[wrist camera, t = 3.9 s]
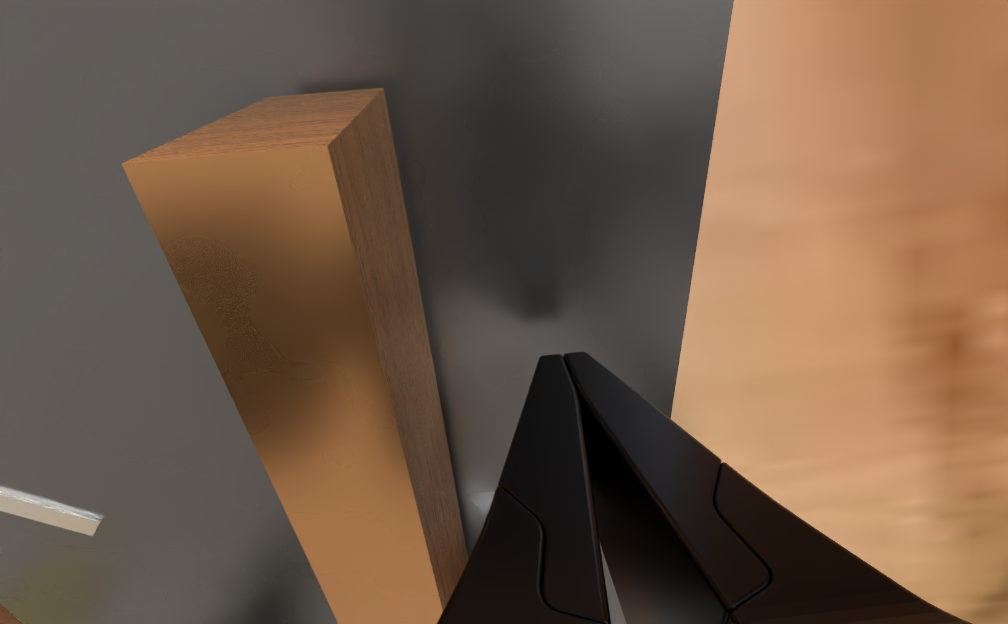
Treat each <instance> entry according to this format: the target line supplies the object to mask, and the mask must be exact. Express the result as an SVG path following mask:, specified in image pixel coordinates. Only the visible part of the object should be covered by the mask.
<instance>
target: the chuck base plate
mask: <svg viewBox="0 0 1008 624" xmlns="http://www.w3.org/2000/svg"><path fill="white" fill-rule="evenodd" d="M733 1H734V0H0V604H1V605H2V606H3V607H4V608H5V609H6V610H8V611H9V612H10V613H11V614H12V615H13V616H14V617H15V618H17V619H18V620H19V621H20V622H21V623H22V624H338V622H337V620H336V618H335V616H334V614H333V611H332V609H331V607H330V605H329V603H328V601H327V599H326V597H325V594H324V592H323V590H322V588H321V586H320V584H319V582H318V580H317V577H316V575H315V573H314V571H313V569H312V567H311V565H310V563H309V560H308V558H307V556H306V554H305V552H304V550H303V548H302V546H301V544H300V541H299V539H298V537H297V535H296V533H295V531H294V529H293V527H292V524H291V522H290V520H289V518H288V516H287V514H286V512H285V510H284V507H283V505H282V503H281V501H280V499H279V497H278V495H277V493H276V490H275V488H274V486H273V484H272V482H271V480H270V478H269V476H268V474H267V471H266V469H265V467H264V465H263V463H262V461H261V459H260V457H259V454H258V452H257V450H256V448H255V446H254V444H253V442H252V440H251V437H250V435H249V433H248V431H247V429H246V427H245V425H244V423H243V420H242V418H241V416H240V414H239V412H238V410H237V408H236V406H235V404H234V401H233V399H232V397H231V395H230V393H229V391H228V389H227V387H226V384H225V382H224V380H223V378H222V376H221V374H220V372H219V370H218V367H217V365H216V363H215V361H214V359H213V357H212V355H211V353H210V350H209V348H208V346H207V344H206V342H205V340H204V338H203V336H202V333H201V331H200V329H199V327H198V325H197V323H196V321H195V319H194V317H193V314H192V312H191V310H190V308H189V306H188V304H187V302H186V300H185V297H184V295H183V293H182V291H181V289H180V287H179V285H178V283H177V280H176V278H175V276H174V274H173V272H172V270H171V268H170V266H169V263H168V261H167V259H166V257H165V255H164V253H163V251H162V249H161V247H160V244H159V242H158V240H157V238H156V236H155V234H154V232H153V230H152V227H151V225H150V223H149V221H148V219H147V217H146V215H145V213H144V210H143V208H142V206H141V204H140V202H139V200H138V198H137V196H136V193H135V191H134V189H133V187H132V185H131V183H130V181H129V179H128V176H127V174H126V172H125V170H124V168H123V166H122V163H124V162H126V161H129V160H131V159H133V158H135V157H137V156H140V155H142V154H144V153H146V152H148V151H151V150H153V149H155V148H157V147H159V146H162V145H164V144H166V143H168V142H170V141H173V140H175V139H177V138H179V137H181V136H184V135H186V134H188V133H190V132H192V131H195V130H197V129H199V128H201V127H204V126H206V125H208V124H210V123H212V122H215V121H217V120H219V119H221V118H223V117H226V116H228V115H230V114H232V113H234V112H237V111H239V110H241V109H243V108H245V107H248V106H250V105H252V104H254V103H256V102H259V101H261V100H263V99H265V98H267V97H275V96H287V95H300V94H312V93H324V92H336V91H348V90H360V89H372V88H384V90H385V96H386V102H387V107H388V113H389V118H390V124H391V129H392V135H393V141H394V146H395V152H396V157H397V163H398V169H399V174H400V180H401V185H402V191H403V197H404V202H405V208H406V213H407V219H408V225H409V230H410V236H411V241H412V247H413V253H414V258H415V264H416V269H417V275H418V281H419V286H420V292H421V297H422V303H423V309H424V314H425V320H426V325H427V331H428V337H429V342H430V348H431V353H432V359H433V365H434V370H435V376H436V381H437V387H438V393H439V398H440V404H441V409H442V415H443V421H444V426H445V432H446V437H447V443H448V449H449V454H450V460H451V465H452V471H453V477H454V482H455V488H456V493H457V499H458V505H459V510H460V516H461V521H462V527H463V533H464V538H465V544H466V549H467V555H468V559H469V557H470V555H471V553H472V550H473V548H474V546H475V544H476V542H477V539H478V537H479V535H480V533H481V530H482V527H483V524H484V522H485V519H486V516H487V514H488V511H489V508H490V506H491V503H492V499H493V496H494V493H495V490H496V488H497V487H498V482H499V479H500V476H501V473H502V470H503V467H504V464H505V461H506V458H507V455H508V452H509V449H510V445H511V442H512V439H513V436H514V433H515V430H516V427H517V424H518V421H519V418H520V415H521V412H522V409H523V406H524V403H525V400H526V397H527V394H528V391H529V387H530V384H531V381H532V378H533V375H534V372H535V369H536V366H537V363H538V360H539V358H540V357H541V356H543V355H553V354H560V355H562V356H563V355H564V354H565V353H573V352H586V353H588V354H589V355H590V356H592V357H593V358H594V359H595V360H597V361H598V362H599V363H600V364H602V365H603V366H604V367H605V368H607V369H608V370H609V371H610V372H612V373H613V374H614V375H615V376H617V377H618V378H619V379H620V380H622V381H623V382H624V383H626V384H627V385H628V386H629V387H631V388H632V389H633V390H634V391H636V392H637V393H638V394H639V395H641V396H642V397H643V398H644V399H646V400H647V401H648V402H649V403H651V404H652V405H653V406H654V407H656V408H657V409H658V410H660V411H661V412H662V413H663V414H665V415H666V416H667V417H668V418H670V417H671V411H672V404H673V398H674V391H675V384H676V378H677V371H678V365H679V358H680V351H681V345H682V338H683V331H684V325H685V318H686V312H687V305H688V298H689V292H690V285H691V279H692V272H693V265H694V259H695V252H696V246H697V239H698V232H699V226H700V219H701V213H702V206H703V199H704V193H705V186H706V180H707V173H708V166H709V160H710V153H711V147H712V140H713V133H714V127H715V120H716V113H717V107H718V100H719V94H720V87H721V80H722V74H723V67H724V61H725V54H726V47H727V41H728V34H729V28H730V21H731V14H732V8H733ZM600 548H601V555H602V562H603V569H604V576H605V583H606V590H607V597H608V604H609V611H610V618H611V624H626V621H625V618H624V615H623V612H622V609H621V606H620V603H619V600H618V596H617V593H616V590H615V587H614V584H613V581H612V578H611V575H610V572H609V569H608V566H607V563H606V560H605V557H604V554H603V550H602V547H601V544H600Z"/></svg>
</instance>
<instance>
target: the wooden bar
mask: <svg viewBox="0 0 1008 624" xmlns="http://www.w3.org/2000/svg"><path fill="white" fill-rule="evenodd" d="M122 166H123V168H124V170H125V172H126V174H127V176H128V179H129V181H130V183H131V185H132V187H133V189H134V191H135V193H136V196H137V198H138V200H139V202H140V204H141V206H142V208H143V210H144V213H145V215H146V217H147V219H148V221H149V223H150V225H151V227H152V230H153V232H154V234H155V236H156V238H157V240H158V242H159V244H160V247H161V249H162V251H163V253H164V255H165V257H166V259H167V261H168V263H169V266H170V268H171V270H172V272H173V274H174V276H175V278H176V280H177V283H178V285H179V287H180V289H181V291H182V293H183V295H184V297H185V300H186V302H187V304H188V306H189V308H190V310H191V312H192V314H193V317H194V319H195V321H196V323H197V325H198V327H199V329H200V331H201V333H202V336H203V338H204V340H205V342H206V344H207V346H208V348H209V350H210V353H211V355H212V357H213V359H214V361H215V363H216V365H217V367H218V370H219V372H220V374H221V376H222V378H223V380H224V382H225V384H226V387H227V389H228V391H229V393H230V395H231V397H232V399H233V401H234V404H235V406H236V408H237V410H238V412H239V414H240V416H241V418H242V420H243V423H244V425H245V427H246V429H247V431H248V433H249V435H250V437H251V440H252V442H253V444H254V446H255V448H256V450H257V452H258V454H259V457H260V459H261V461H262V463H263V465H264V467H265V469H266V471H267V474H268V476H269V478H270V480H271V482H272V484H273V486H274V488H275V490H276V493H277V495H278V497H279V499H280V501H281V503H282V505H283V507H284V510H285V512H286V514H287V516H288V518H289V520H290V522H291V524H292V527H293V529H294V531H295V533H296V535H297V537H298V539H299V541H300V544H301V546H302V548H303V550H304V552H305V554H306V556H307V558H308V560H309V563H310V565H311V567H312V569H313V571H314V573H315V575H316V577H317V580H318V582H319V584H320V586H321V588H322V590H323V592H324V594H325V597H326V599H327V601H328V603H329V605H330V607H331V609H332V611H333V614H334V616H335V618H336V620H337V622H338V624H437V622H438V620H439V618H440V616H441V614H442V612H443V610H444V608H445V606H446V604H447V602H448V600H449V598H450V596H451V594H452V592H453V590H454V588H455V586H456V584H457V582H458V580H459V578H460V576H461V574H462V572H463V570H464V568H465V566H466V564H467V561H468V555H467V549H466V544H465V538H464V533H463V527H462V521H461V516H460V510H459V505H458V499H457V493H456V488H455V482H454V477H453V471H452V465H451V460H450V454H449V449H448V443H447V437H446V432H445V426H444V421H443V415H442V409H441V404H440V398H439V393H438V387H437V381H436V376H435V370H434V365H433V359H432V353H431V348H430V342H429V337H428V331H427V325H426V320H425V314H424V309H423V303H422V297H421V292H420V286H419V281H418V275H417V269H416V264H415V258H414V253H413V247H412V241H411V236H410V230H409V225H408V219H407V213H406V208H405V202H404V197H403V191H402V185H401V180H400V174H399V169H398V163H397V157H396V152H395V146H394V141H393V135H392V129H391V124H390V118H389V113H388V107H387V102H386V96H385V90H384V88H372V89H360V90H348V91H336V92H324V93H312V94H300V95H287V96H275V97H267V98H265V99H263V100H261V101H259V102H256V103H254V104H252V105H250V106H248V107H245V108H243V109H241V110H239V111H237V112H234V113H232V114H230V115H228V116H226V117H223V118H221V119H219V120H217V121H215V122H212V123H210V124H208V125H206V126H204V127H201V128H199V129H197V130H195V131H192V132H190V133H188V134H186V135H184V136H181V137H179V138H177V139H175V140H173V141H170V142H168V143H166V144H164V145H162V146H159V147H157V148H155V149H153V150H151V151H148V152H146V153H144V154H142V155H140V156H137V157H135V158H133V159H131V160H129V161H126V162H124V163H122Z"/></svg>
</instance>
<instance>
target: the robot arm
mask: <svg viewBox="0 0 1008 624" xmlns="http://www.w3.org/2000/svg"><path fill="white" fill-rule="evenodd" d="M600 544H601V547H602V550H603V554H604V557H605V560H606V563H607V566H608V569H609V572H610V575H611V578H612V581H613V584H614V587H615V590H616V593H617V596H618V600H619V603H620V606H621V609H622V612H623V615H624V618H625V621H626V624H972V623H969V622H967V621H964V620H962V619H960V618H958V617H956V616H953V615H951V614H949V613H947V612H945V611H943V610H941V609H939V608H937V607H936V606H934V605H932V604H930V603H928V602H926V601H925V600H923V599H921V598H920V597H918V596H917V595H915V594H913V593H912V592H910V591H909V590H907V589H905V588H904V587H902V586H901V585H899V584H898V583H896V582H895V581H893V580H892V579H890V578H889V577H887V576H886V575H884V574H883V573H881V572H880V571H878V570H877V569H875V568H874V567H872V566H871V565H869V564H868V563H866V562H865V561H863V560H862V559H860V558H859V557H857V556H856V555H854V554H853V553H851V552H850V551H848V550H847V549H845V548H844V547H842V546H841V545H839V544H838V543H836V542H835V541H833V540H832V539H830V538H829V537H827V536H826V535H824V534H823V533H821V532H820V531H818V530H817V529H815V528H814V527H812V526H811V525H809V524H808V523H806V522H805V521H803V520H802V519H801V518H799V517H798V516H796V515H795V514H793V513H792V512H790V511H789V510H788V509H786V508H785V507H783V506H782V505H780V504H779V503H777V502H776V501H775V500H773V499H772V498H771V497H769V496H768V495H767V494H765V493H764V492H763V491H761V490H760V489H759V488H757V487H756V486H755V485H753V484H752V483H751V482H749V481H748V480H747V479H746V478H744V477H743V476H742V475H740V474H739V473H738V472H737V471H735V470H734V469H733V468H732V467H730V466H729V465H728V464H727V463H724V462H723V463H721V459H720V458H719V457H717V456H716V455H715V454H714V453H712V452H711V451H710V450H709V449H707V448H706V447H705V446H704V445H702V444H701V443H700V442H699V441H697V440H696V439H695V438H694V437H692V436H691V435H690V434H688V433H687V432H686V431H685V430H683V429H682V428H681V427H680V426H678V425H677V424H676V423H675V422H673V421H672V420H671V419H670V418H668V417H667V416H666V415H665V414H663V413H662V412H661V411H660V410H658V409H657V408H656V407H654V406H653V405H652V404H651V403H649V402H648V401H647V400H646V399H644V398H643V397H642V396H641V395H639V394H638V393H637V392H636V391H634V390H633V389H632V388H631V387H629V386H628V385H627V384H626V383H624V382H623V381H622V380H620V379H619V378H618V377H617V376H615V375H614V374H613V373H612V372H610V371H609V370H608V369H607V368H605V367H604V366H603V365H602V364H600V363H599V362H598V361H597V360H595V359H594V358H593V357H592V356H590V355H589V354H588V353H586V352H573V353H565V354H564V355H563V356H562V355H560V354H553V355H543V356H541V357H540V358H539V360H538V363H537V366H536V369H535V372H534V375H533V378H532V381H531V384H530V387H529V391H528V394H527V397H526V400H525V403H524V406H523V409H522V412H521V415H520V418H519V421H518V424H517V427H516V430H515V433H514V436H513V439H512V442H511V445H510V449H509V452H508V455H507V458H506V461H505V464H504V467H503V470H502V473H501V476H500V479H499V482H498V487H497V488H496V490H495V493H494V496H493V499H492V503H491V506H490V508H489V511H488V514H487V516H486V519H485V522H484V524H483V527H482V530H481V533H480V535H479V537H478V539H477V542H476V544H475V546H474V548H473V550H472V553H471V555H470V557H469V559H468V561H467V564H466V566H465V568H464V570H463V572H462V574H461V576H460V578H459V580H458V582H457V584H456V586H455V588H454V590H453V592H452V594H451V596H450V598H449V600H448V602H447V604H446V606H445V608H444V610H443V612H442V614H441V616H440V618H439V620H438V622H437V624H611V618H610V611H609V604H608V597H607V590H606V583H605V576H604V569H603V562H602V555H601V548H600Z"/></svg>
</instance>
